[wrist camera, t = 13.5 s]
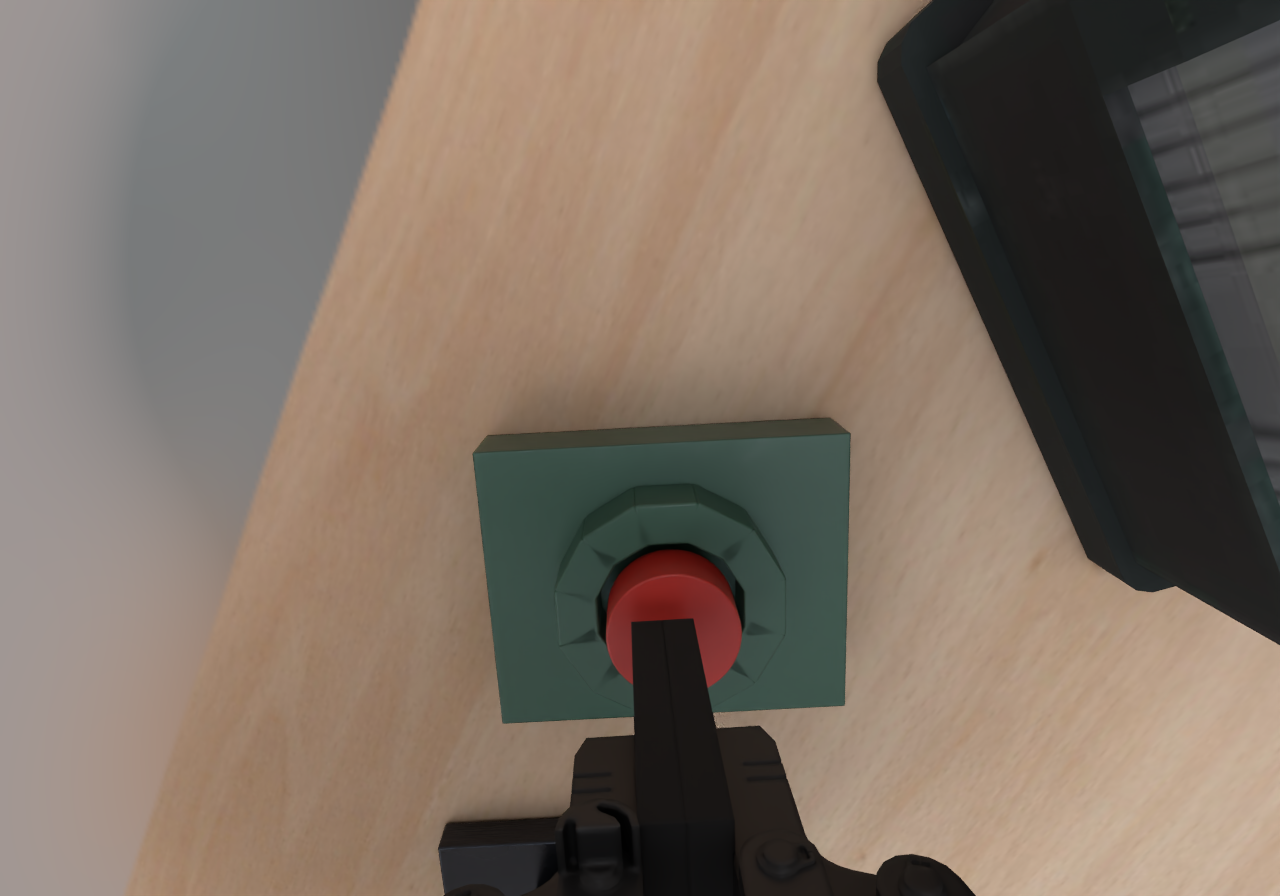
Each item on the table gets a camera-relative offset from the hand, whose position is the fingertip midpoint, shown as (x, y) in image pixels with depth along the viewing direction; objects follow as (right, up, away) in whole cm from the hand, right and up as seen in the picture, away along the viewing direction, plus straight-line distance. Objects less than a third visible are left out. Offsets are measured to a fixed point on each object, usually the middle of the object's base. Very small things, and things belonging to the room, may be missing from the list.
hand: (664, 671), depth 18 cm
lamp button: (0, +1, +3) cm, 3 cm away
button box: (0, +2, +7) cm, 7 cm away
